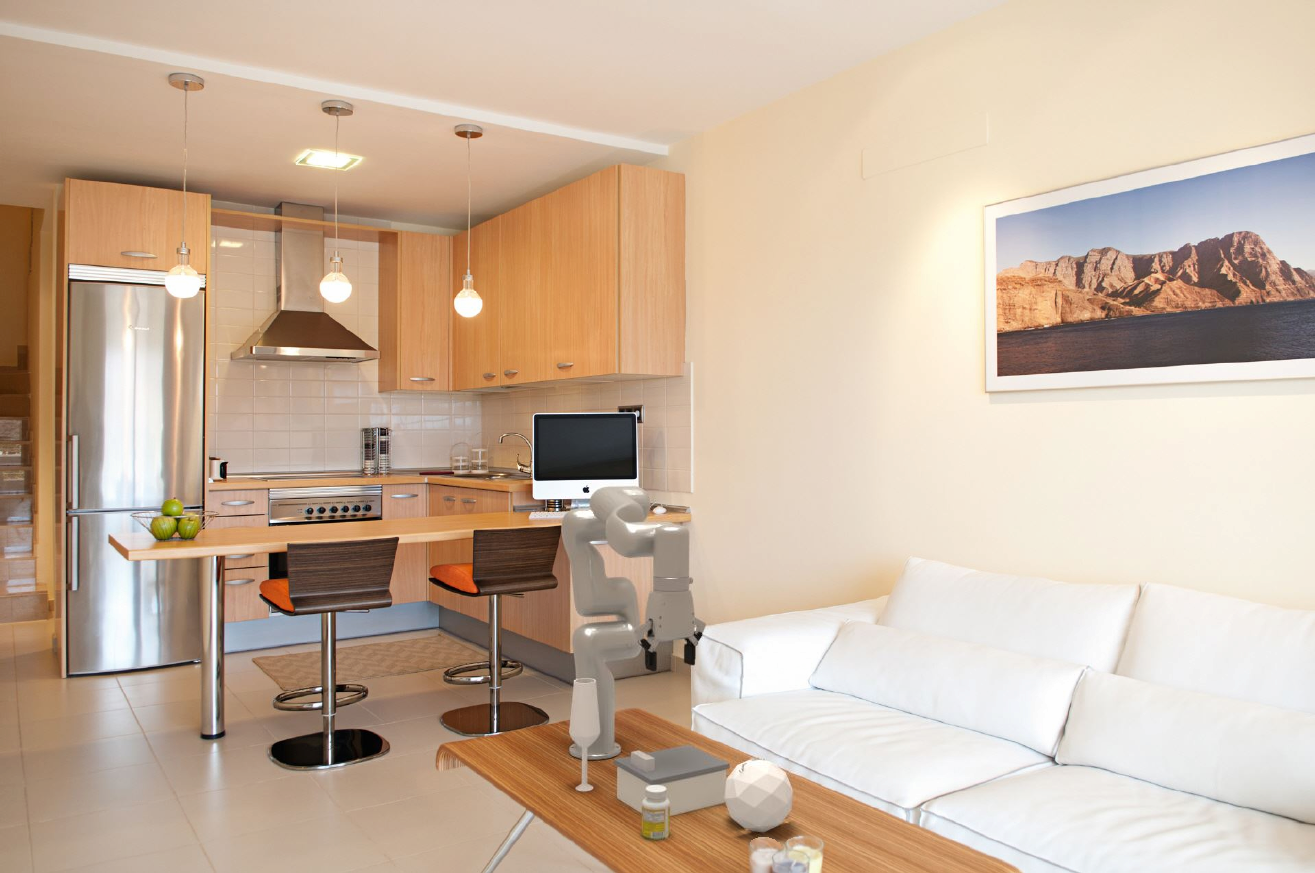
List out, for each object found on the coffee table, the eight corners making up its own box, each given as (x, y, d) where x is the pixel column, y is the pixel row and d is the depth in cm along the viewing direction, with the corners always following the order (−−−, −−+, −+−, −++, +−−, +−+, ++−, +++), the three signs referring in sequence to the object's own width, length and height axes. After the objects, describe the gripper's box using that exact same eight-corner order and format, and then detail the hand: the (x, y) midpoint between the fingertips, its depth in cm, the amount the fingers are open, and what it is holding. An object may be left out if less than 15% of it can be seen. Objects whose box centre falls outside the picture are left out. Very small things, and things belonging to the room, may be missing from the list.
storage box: (617, 802, 195) (617, 765, 195) (688, 786, 205) (688, 751, 205) (652, 825, 183) (652, 785, 183) (726, 806, 193) (726, 769, 193)
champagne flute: (576, 785, 205) (577, 676, 206) (604, 789, 203) (605, 678, 204) (563, 795, 199) (564, 683, 200) (592, 799, 197) (592, 685, 197)
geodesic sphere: (754, 822, 170) (780, 752, 176) (697, 803, 179) (724, 737, 186) (790, 851, 178) (814, 783, 184) (734, 831, 187) (759, 767, 194)
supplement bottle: (657, 847, 173) (657, 795, 173) (635, 839, 176) (635, 788, 176) (675, 838, 177) (675, 787, 177) (654, 831, 180) (654, 781, 180)
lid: (613, 764, 195) (614, 747, 195) (688, 749, 205) (688, 733, 206) (651, 785, 183) (651, 767, 183) (729, 768, 193) (729, 751, 193)
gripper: (694, 579, 202) (693, 658, 202) (626, 585, 192) (625, 668, 192) (715, 583, 196) (714, 665, 195) (645, 590, 186) (645, 676, 186)
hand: (670, 666), depth 194 cm, fingers open, 9 cm apart
